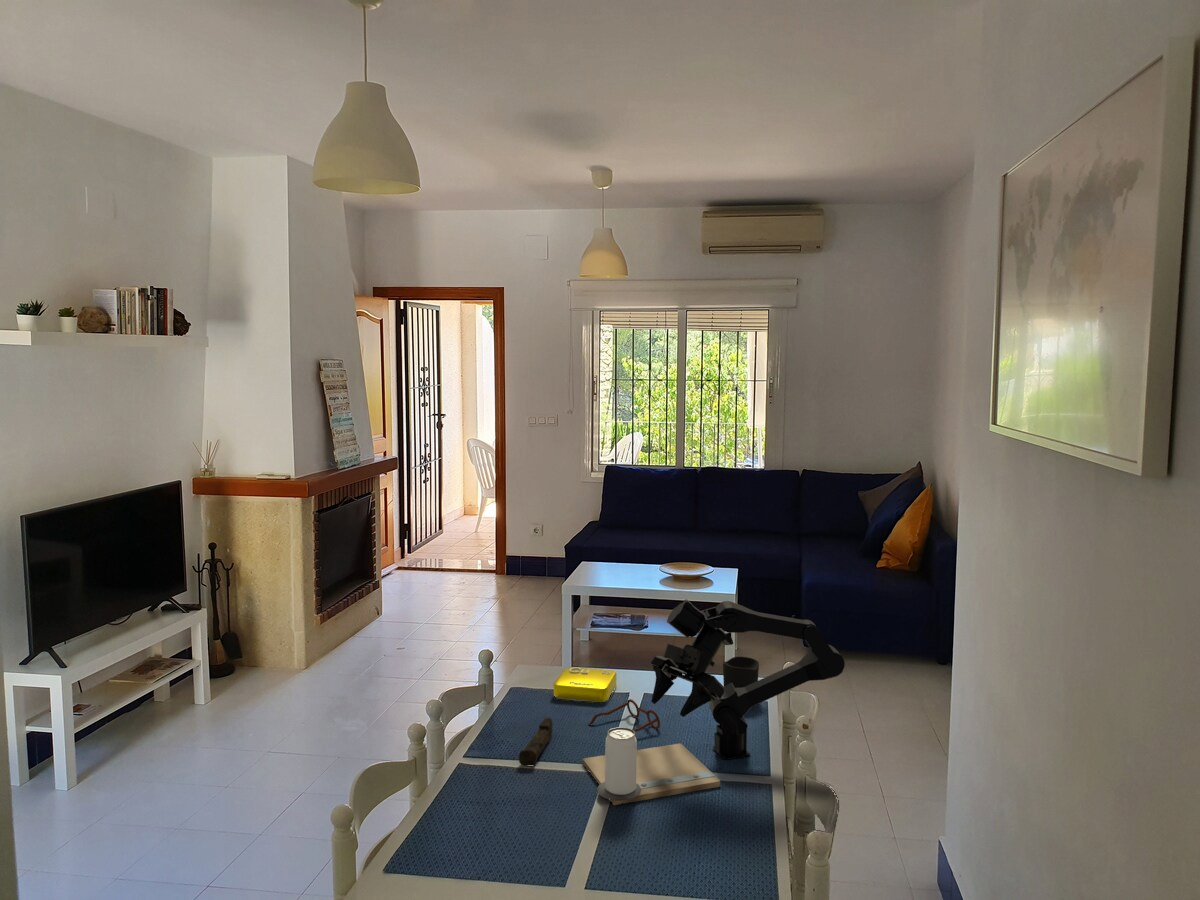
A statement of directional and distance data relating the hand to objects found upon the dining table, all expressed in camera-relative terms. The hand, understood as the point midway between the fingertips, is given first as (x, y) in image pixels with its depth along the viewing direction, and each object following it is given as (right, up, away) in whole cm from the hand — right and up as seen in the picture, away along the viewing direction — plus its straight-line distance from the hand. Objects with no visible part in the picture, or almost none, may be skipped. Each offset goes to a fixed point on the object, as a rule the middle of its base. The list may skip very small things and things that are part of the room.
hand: (666, 709), depth 194 cm
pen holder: (+23, -10, +43) cm, 49 cm away
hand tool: (-29, -13, +12) cm, 34 cm away
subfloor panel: (-5, -14, -2) cm, 15 cm away
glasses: (-9, -12, +24) cm, 28 cm away
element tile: (-19, -10, +48) cm, 53 cm away
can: (-10, -13, -11) cm, 20 cm away
